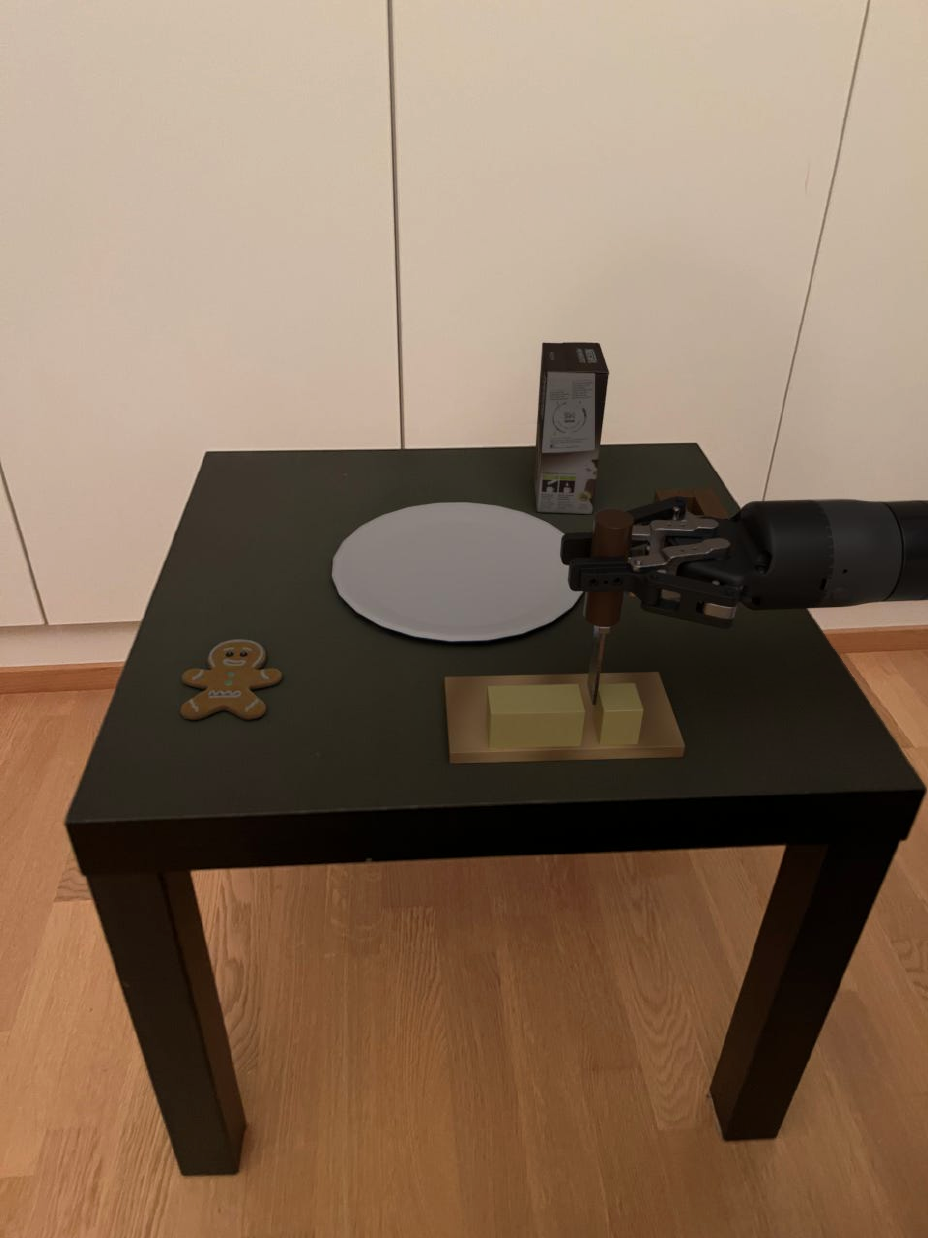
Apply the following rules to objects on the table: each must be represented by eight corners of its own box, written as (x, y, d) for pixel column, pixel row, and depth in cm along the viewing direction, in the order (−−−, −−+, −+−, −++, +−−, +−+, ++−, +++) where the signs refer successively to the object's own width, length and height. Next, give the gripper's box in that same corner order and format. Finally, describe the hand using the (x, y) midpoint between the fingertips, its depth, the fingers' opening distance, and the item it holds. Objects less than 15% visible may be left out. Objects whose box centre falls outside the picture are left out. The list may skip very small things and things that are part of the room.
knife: (605, 683, 73) (629, 508, 64) (611, 705, 70) (637, 527, 61) (571, 684, 72) (591, 508, 63) (577, 706, 70) (598, 528, 61)
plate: (629, 556, 96) (631, 546, 96) (500, 686, 79) (501, 674, 79) (429, 488, 107) (429, 479, 107) (277, 590, 90) (276, 579, 90)
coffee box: (594, 515, 103) (610, 372, 94) (535, 513, 103) (545, 370, 94) (587, 476, 111) (601, 340, 101) (532, 475, 111) (541, 339, 101)
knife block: (703, 534, 100) (712, 488, 97) (722, 570, 95) (732, 522, 92) (647, 535, 100) (655, 489, 97) (663, 571, 94) (671, 523, 91)
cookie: (166, 713, 74) (192, 636, 82) (168, 722, 75) (194, 644, 83) (273, 713, 75) (288, 636, 83) (274, 722, 75) (289, 644, 83)
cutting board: (656, 682, 80) (658, 671, 79) (683, 757, 73) (685, 746, 72) (444, 687, 79) (444, 676, 78) (449, 764, 72) (449, 752, 71)
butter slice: (629, 716, 75) (635, 682, 73) (638, 744, 72) (644, 709, 70) (592, 717, 75) (596, 683, 73) (599, 745, 72) (604, 710, 70)
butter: (574, 718, 75) (578, 683, 73) (580, 746, 72) (585, 711, 70) (485, 720, 74) (487, 685, 72) (489, 748, 72) (490, 713, 69)
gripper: (787, 458, 69) (552, 464, 67) (870, 562, 58) (590, 572, 56) (766, 546, 73) (545, 554, 72) (839, 659, 62) (579, 670, 61)
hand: (566, 562), depth 64 cm, fingers closed on knife, 2 cm apart
